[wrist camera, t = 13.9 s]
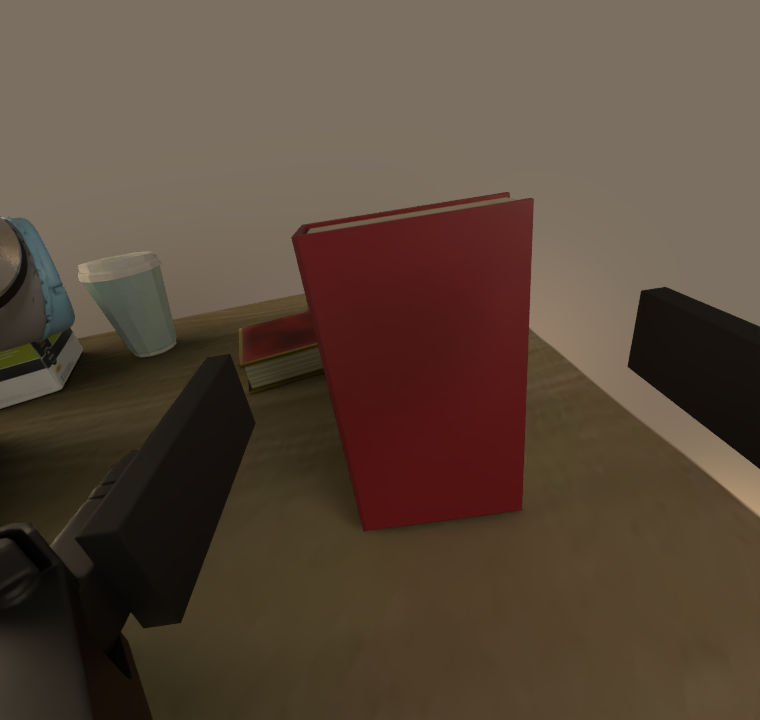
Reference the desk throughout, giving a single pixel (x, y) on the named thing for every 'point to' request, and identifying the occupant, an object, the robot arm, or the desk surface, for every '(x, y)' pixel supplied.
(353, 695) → the desk surface
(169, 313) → the disposable coffee cup
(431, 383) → the book
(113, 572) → the robot arm
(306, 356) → the hardcover book
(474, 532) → the desk surface
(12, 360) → the tea box
